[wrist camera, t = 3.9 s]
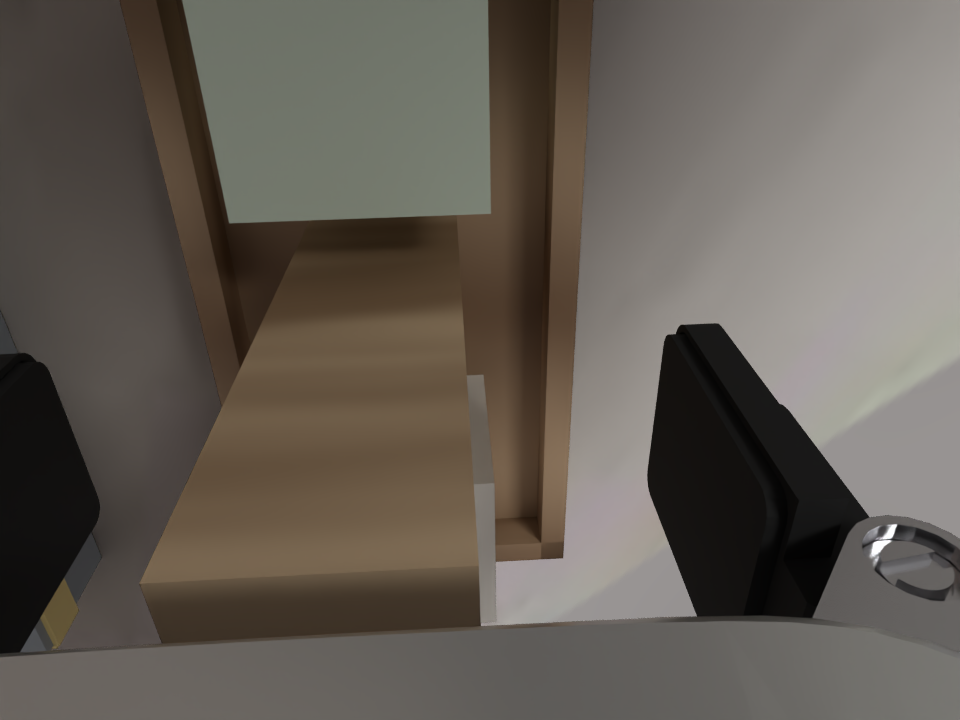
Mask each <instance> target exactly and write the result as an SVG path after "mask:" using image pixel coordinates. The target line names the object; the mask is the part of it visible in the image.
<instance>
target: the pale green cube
mask: <svg viewBox="0 0 960 720" xmlns="http://www.w3.org/2000/svg"><path fill="white" fill-rule="evenodd" d="M182 2H183V6H184V11H185V16H186V21H187V25H188V30H189V35H190V40H191V44H192V49H193V54H194V58H195V63H196V68H197V73H198V77H199V82H200V87H201V92H202V96H203V101H204V106H205V111H206V115H207V120H208V125H209V130H210V134H211V139H212V144H213V149H214V153H215V158H216V163H217V168H218V172H219V177H220V182H221V187H222V191H223V196H224V201H225V206H226V210H227V215H228V220H229V223H252V222H280V221H307V220H334V219H362V218H389V217H416V216H444V215H471V214H491V187H490V112H489V38H488V0H182Z"/></svg>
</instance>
